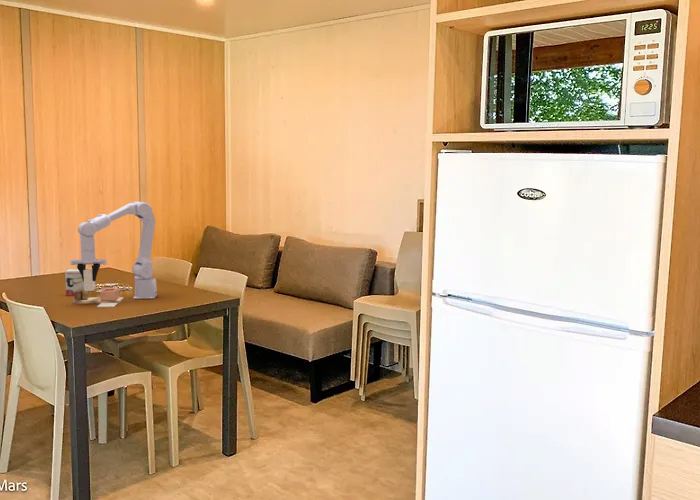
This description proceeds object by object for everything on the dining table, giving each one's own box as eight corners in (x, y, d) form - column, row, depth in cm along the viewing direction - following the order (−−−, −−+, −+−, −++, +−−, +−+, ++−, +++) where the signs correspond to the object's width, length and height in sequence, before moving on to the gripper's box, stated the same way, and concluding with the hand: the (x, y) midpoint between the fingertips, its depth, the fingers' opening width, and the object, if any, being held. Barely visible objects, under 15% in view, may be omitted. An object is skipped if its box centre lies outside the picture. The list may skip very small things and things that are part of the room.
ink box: (65, 296, 305) (64, 271, 303) (67, 294, 310) (66, 269, 308) (85, 295, 307) (84, 270, 305) (87, 293, 311) (86, 268, 310)
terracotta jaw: (118, 296, 299) (118, 288, 298) (114, 300, 291) (114, 291, 290) (105, 296, 298) (104, 288, 297) (100, 300, 290) (100, 291, 290)
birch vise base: (123, 299, 299) (123, 286, 298) (119, 302, 291) (119, 289, 290) (77, 299, 297) (77, 286, 296) (72, 303, 289) (71, 290, 288)
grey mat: (117, 303, 290) (117, 302, 290) (113, 307, 283) (113, 306, 283) (101, 303, 289) (101, 303, 289) (96, 307, 282) (96, 306, 282)
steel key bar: (95, 288, 290) (94, 268, 289) (93, 290, 286) (91, 270, 285) (86, 289, 290) (85, 268, 288) (84, 290, 286) (83, 270, 285)
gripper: (67, 251, 281) (69, 282, 283) (102, 251, 283) (104, 282, 284) (72, 249, 288) (74, 279, 290) (107, 248, 289) (108, 279, 291)
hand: (89, 280), depth 287 cm, fingers closed on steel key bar, 4 cm apart
